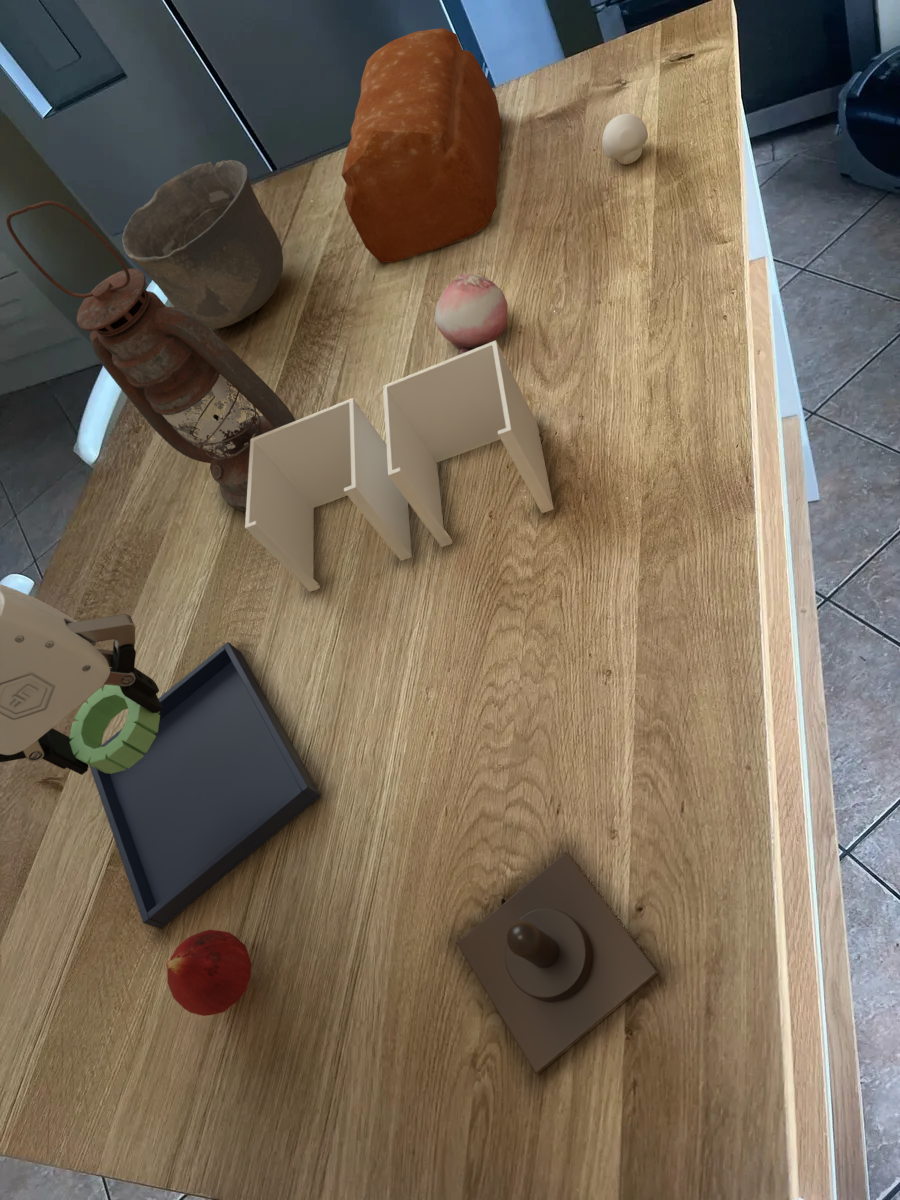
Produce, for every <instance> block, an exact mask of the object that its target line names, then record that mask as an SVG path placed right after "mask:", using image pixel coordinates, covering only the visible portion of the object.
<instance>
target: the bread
mask: <svg viewBox="0 0 900 1200" xmlns="http://www.w3.org/2000/svg"><path fill="white" fill-rule="evenodd" d="M459 39H460V38H459V37H458V34H457V33H455V32H454V31H451V30H449V29H447V28H444V27H439V28H433V29H426V30H418V31H413V32H411V33H408V34H406V35H403V36H401V37H399V38H396V39H394V40H391V41H389V42H388V43H386V44H385V45H382V47H380V48H379V49H377V50H376V51H375V52H373V53H372V55H371V56H370V57H368V59H367V60H366V64H365V67H364V70H363V73H362V77H361V79H360V97H359V99H358V102H357V106H356V109H355V111H354V119H353V122H352V124H351V128H350V136H351V139H350V141H349V143H348V145H347V148H346V152H345V157H344V160H343V165H342V171H341V177H342V179H343V181H344V183H345V190H344V198H343V200H344V204H345V207H346V209H347V213H348V215H349V217H350V219H351V222H352V223H353V225H354V227H355V229H356V231H357V233H358V235H359V237H360V239H361V241H362V243H363V245H364V247H365V249H367V251H368V252H369V253H370V254H371V255H372V257H374V258H375V259H376V260H377V261H378V262H379V263H393V262H399V261H403V260H405V259H408V258H412V257H415V256H416V257H417V256H419V255H422V254H425V253H428V252H431V251H434V250H437V249H441V248H443V247H447V246H449V245H453V244H454V243H457V242H460V241H462V240H464V239H466V238H469V237H472V236H474V235H475V234H477V233H479V232H480V231H482V230H483V229H485V228H486V227H488V226H489V225H490V222H491V221H492V218H493V216H494V214H495V211H496V209H497V207H498V183H499V172H500V171H499V170H500V156H501V155H500V153H501V139H502V119H501V113H500V110H499V104H498V99H497V95H496V93H495V91H494V89H493V87H492V85H491V83H490V82H489V80H488V77H487V75H486V74H485V72H484V70H483V69H482V66H481V65H480V63H479V61H478V59H477V58H476V56H475V55H474V53H473V52H472V51H469V50H466V49H463V47H462V44H461V42H460V40H459Z"/></svg>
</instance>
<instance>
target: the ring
mask: <svg viewBox="0 0 900 1200" xmlns="http://www.w3.org/2000/svg"><path fill="white" fill-rule="evenodd" d="M124 710H127V714H126V722H125V723H124V725H123V727H122V728H121V729H122V730H121V729H120V730H121V732H120V733H119V735H118V736H117V737H116V738H115V739H113V740H112V741H111V742H110V743H109V744H107V745H106V746H104V747H102V746H101V745H103V739H104V733H105V731H106V729H108V726H109V725H110V724H111V721H112V720H113V719H114V718H115V717H116V716H118V715H119V714H120V713H121V712H123V711H124ZM159 713H160V711H159V712H158V713H152V712H150V711H149V710H147V709H145V708H144V707H142V706H140V705H139V704H137V703H136V702H134V701H132V700H131V699H129V698H127V697H126V696H125V695H124V694H123V693H122V691H121V688H120V686H114V685H103V687H101V688H99V689H98V690H97V691H96V692H95V693H94V694H93V695H92V696H90V697H89V698H88V699H87V700H86V701H84V702H83V703H82V704H81V706H80V708H79V709H78V711H77V713H76V714H75V716H74V718H73V720H74V721H72V723H71V728H70V732H69V736H68V737H69V739H70V740H71V741H70V742H69V743H70V746H71V749H72V752H73V755H74V756H76V757H75V758H76V759H78V760H80V761H82V762H84V763H86V764H88V766H89V765H90V766H92V767H94V768H96V769H98V770H100V771H102V772H104V773H106V774H108V773H110V774H112V773H116V772H120V771H124V770H126V767H127V768H128V769H129V768H130V767H132V766H133V765H134V764H135V763H136V762H138V761H139V760H140V759H141V758H142V757H144V755H143V753H142V752H144V753H147V751H148V749H149V748H150V746H151V744H152V743H153V741H154V739H155V738H156V735H154V733H158V727H159V720H160V715H159ZM90 766H89V767H90Z"/></svg>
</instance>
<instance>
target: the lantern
mask: <svg viewBox="0 0 900 1200" xmlns="http://www.w3.org/2000/svg"><path fill="white" fill-rule="evenodd" d="M46 206H55V207H56V208H57V207H58V208H60V209H62V210H64V211H65V212H67V213H68V214H70V215H71V216H73V217H74V218H75V219H77V220H78V221H79V222H80V223H81V224H82V225H84V226H85V227H86V228H87V229H88V230H89V231H90V232H91V233H92V234H93V235H94V236H95V237H96V238H97V239H98V240H99V241H100V242H101V243H102V244H103V245H104V247H106V248H107V249H108V250H109V252H110V253H111V254H112V255H113V257H114V258H115V259H116V261H117V262H118V263H119V265H120V266H121V267H122V269H123V270H120V271H117V272H115V273H113V274H111V275H110V276H108V277H106V278H104V280H102V281H100V282H99V283H98V284H97V285H96V286H94V288H93V289H92V290H91V291H90V292H88V293H77V292H73V291H71V290H69V289H67V288H65V287H63V285H61V284H59V283H58V281H56V280H55V279H54V278H53V277H52V276H50V274H49V273H47V271H46V270H45V269H44V268H43V267H42V266H41V265H40V264H39V263H38V261H36V259H34V257H33V256H32V255H31V254H30V253H29V251H28V250H27V249H26V248H25V246H24V245H23V243H22V242H21V241H20V239H19V237H18V236H17V234H16V232H15V231H14V229H13V227H12V223H11V221H12V220H11V219H12V218H13V217H15V216H18V215H21V214H24V213H27V212H28V211H29V210H36V209H40V208H42V207H46ZM5 221H6V222H5V223H6V226H7V229H8V231H9V233H10V235H11V237H12V238H13V240H14V241H15V243H16V244H17V245H18V247H19V248H20V249H21V251H22V252H23V254H24V255H25V256H26V257H27V258H28V260H29V261H30V262H31V263H32V265H34V266H35V268H36V269H37V270H38V271H39V272H40V273H41V274H42V275H43V276H44V277H45V278H46V279H47V280H48V281H49V282H50V283H51V284H53V285H54V286H55V287H56V288H57V289H59V290H60V291H62V292H64V293H66V294H67V295H69V296H72V297H74V298H80V299H83V300H82V302H81V304H80V306H79V308H78V311H77V314H76V323H77V325H78V327H79V328H80V329H82V330H84V331H87V332H90V335H89V340H90V341H89V342H90V344H91V347H92V351H93V352H94V354H95V356H96V358H97V360H98V361H99V362H100V364H101V365H102V366H103V368H104V369H105V371H106V372H107V373H108V375H109V376H110V377H111V378H112V380H113V381H114V382H115V383H116V384H117V386H118V387H119V388H120V390H121V391H122V392H123V393H124V394H125V396H126V397H127V398H128V400H129V401H130V402H131V403H132V405H133V406H134V407H135V408H136V410H137V411H138V412H139V414H141V415H142V417H143V419H145V420H146V422H147V423H148V424H149V425H150V426H151V427H152V428H153V429H154V431H155V432H156V433H157V434H158V435H159V436H160V437H161V438H162V439H163V440H164V442H166V443H167V444H168V445H170V446H171V447H172V448H173V449H174V450H175V451H177V452H179V453H180V454H181V455H183V456H185V457H187V458H189V459H191V460H193V461H198V462H201V463H205V464H206V463H207V464H210V466H209V469H210V474H211V476H212V479H214V481H216V483H217V484H218V485H219V492H220V494H221V497H222V498H223V500H225V502H227V504H228V505H229V506H230V507H231V508H233V509H235V510H236V511H239V512H240V511H241V512H246V503H247V487H248V472H249V456H250V440H251V439H252V438H254V437H257V436H259V435H262V434H264V433H267V432H269V431H272V430H274V429H277V428H279V427H281V426H284V425H286V424H289V423H291V422H294V421H296V418H295V416H294V415H293V413H292V412H291V410H290V408H289V407H288V406H287V404H285V402H284V401H283V400H282V399H281V397H279V396H278V394H277V393H276V392H275V391H274V390H273V389H272V388H271V386H269V385H268V384H267V383H266V382H265V381H264V380H263V379H262V378H261V377H260V376H259V375H258V374H257V373H256V372H255V371H254V370H253V369H252V368H251V366H249V365H248V364H247V363H246V362H245V361H244V360H243V359H242V358H241V357H240V356H239V355H238V354H237V352H235V351H234V350H233V349H232V348H230V346H229V345H228V344H226V342H224V341H223V339H221V337H219V336H218V335H217V334H216V333H215V332H214V331H213V330H212V329H211V328H208V327H207V326H206V325H205V324H203V323H202V322H201V321H200V320H198V319H197V318H196V317H194V316H193V315H191V314H190V313H188V312H186V311H184V310H182V309H179V308H175V307H174V306H167V305H166V304H165V303H164V302H163V300H161V298H160V297H159V296H158V295H157V294H156V293H155V292H153V291H150V290H147V289H145V288H146V284H147V278H146V275H145V274H144V273H145V272H143V271H141V270H140V269H137V268H128V267H127V265H126V264H125V262H124V261H123V259H122V258H121V257H120V255H119V254H118V252H117V251H116V250H115V249H114V248H113V247H112V246H111V244H109V242H108V241H107V240H106V239H105V238H104V237H103V235H101V234H100V233H99V231H97V230H96V229H95V227H93V226H92V224H90V223H89V222H87V221H86V220H85V219H84V218H83V217H82V216H81V215H80V214H78V213H77V212H75V211H74V210H73V209H71V208H69V206H67V205H65V204H63V203H60V202H58V201H55V200H45V201H41V202H38V203H35V204H32V205H31V204H30V205H26V206H24V207H22V208H19V209H17V210H14V211H11V212H10V213H8V214H7V216H6V220H5ZM231 387H232V388H231ZM234 389H235V390H234ZM228 396H229V397H228ZM206 397H208V398H209V399H210V400H209V402H208V399H205V398H206ZM215 398H216V399H215ZM214 399H215V401H216V402H214V406H215V407H217V410H222V409H225V411H224V412H221V416H220V414H216V413H215V414H213V415H212V417H213V418H211V417H208V418H206V419H205V418H203V419H202V417H203V415H204V413H205V412H206V411H207V409H208V408H209V406H210V405H211V403H212V402H213V401H214ZM224 400H226V401H224ZM238 400H239V401H240V402H239V401H238ZM227 401H228V402H227ZM204 402H205V403H204ZM207 402H208V403H207ZM206 403H207V404H206ZM225 404H226V405H225ZM202 405H204V406H203V407H202ZM192 407H193V408H192ZM224 407H225V408H224ZM203 408H204V409H203ZM193 409H194V411H192V410H193ZM200 411H201V413H200ZM189 412H190V413H191V414H190V413H189ZM243 413H244V414H245V420H242V421H239V420H240V419H242V417H243V416H244V414H243ZM259 413H260V414H261V415H260V414H259ZM197 415H199V417H198V418H197ZM237 419H238V420H237ZM203 420H204V421H203ZM199 424H200V425H199ZM198 426H199V427H200V428H199V427H198ZM194 434H195V435H194ZM212 437H214V438H213V439H211V438H212Z"/></svg>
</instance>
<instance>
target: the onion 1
mask: <svg viewBox="0 0 900 1200" xmlns="http://www.w3.org/2000/svg"><path fill="white" fill-rule="evenodd" d="M165 964H166V965H165V967H166V977H167V979H166V981H167V986H168V988H169V991H170V993H171V996H172V999H174V1001H175V1002H176V1003H178V1005H179V1006H181V1007H182V1008H183V1009H184V1010H185V1011H187V1012H189V1013H191V1014H194V1015H198V1016H202V1017H207V1016H212V1015H213V1016H214V1015H218V1014H222V1013H225V1012H226V1011H228V1010H229V1009H230V1008H231V1007H232V1006H234V1005H235V1004H237V1003H238V1002H239V1001H240V1000H241V999H242V997H243V996H244V995H245V993H246V992H247V990H248V987H249V984H250V981H251V978H252V961H251V958H250V953H249V951H248V949H247V946H246V944H245V943H244V942H242V941H241V940H240V939H239V937H237V936H236V935H234V934H233V933H231V932H230V931H225V930H218V929H206V930H205V929H204V930H203V931H200V932H198V933H195V934H193V935H190V936H188V937H187V938H185V939H183V941H182V942H181V943H180V944H178V946H177V947H176V948H175V950H174V951H173V953H172V955H171V956H170V959H169V960H168V961H167V962H166V963H165Z"/></svg>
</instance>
